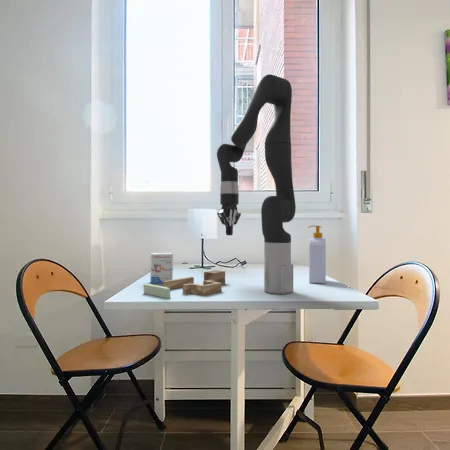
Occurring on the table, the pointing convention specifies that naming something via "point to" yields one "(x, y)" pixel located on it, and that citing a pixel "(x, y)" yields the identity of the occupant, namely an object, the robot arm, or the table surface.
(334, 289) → the table surface
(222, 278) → the walnut block
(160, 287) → the wall
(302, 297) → the table surface
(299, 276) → the table surface
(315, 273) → the soap bottle
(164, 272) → the ink box
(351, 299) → the table surface
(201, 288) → the wooden maze walls
